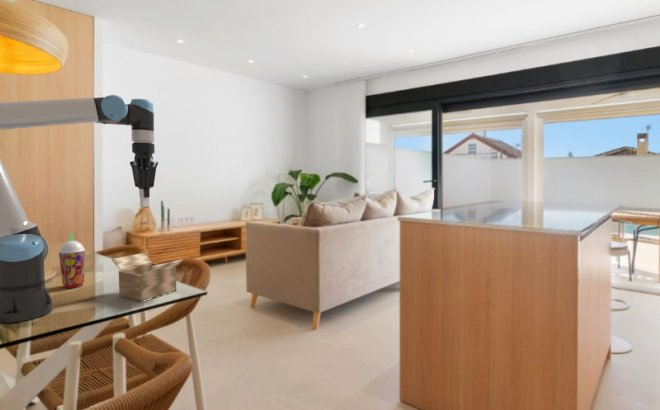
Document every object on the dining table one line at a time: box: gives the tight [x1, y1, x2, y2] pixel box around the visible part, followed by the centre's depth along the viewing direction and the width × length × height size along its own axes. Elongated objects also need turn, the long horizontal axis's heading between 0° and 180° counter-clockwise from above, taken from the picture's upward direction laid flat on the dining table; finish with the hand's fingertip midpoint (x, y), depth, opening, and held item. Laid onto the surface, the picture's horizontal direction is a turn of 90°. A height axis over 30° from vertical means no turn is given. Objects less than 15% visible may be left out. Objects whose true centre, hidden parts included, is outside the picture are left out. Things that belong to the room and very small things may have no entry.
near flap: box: [143, 258, 184, 275], centre depth 135 cm, size 13×1×6 cm
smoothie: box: [58, 233, 86, 289], centre depth 147 cm, size 8×8×20 cm
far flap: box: [111, 252, 153, 271], centre depth 143 cm, size 13×1×6 cm
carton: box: [118, 262, 177, 302], centre depth 139 cm, size 14×12×9 cm
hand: (144, 206), depth 147 cm, fingers closed
